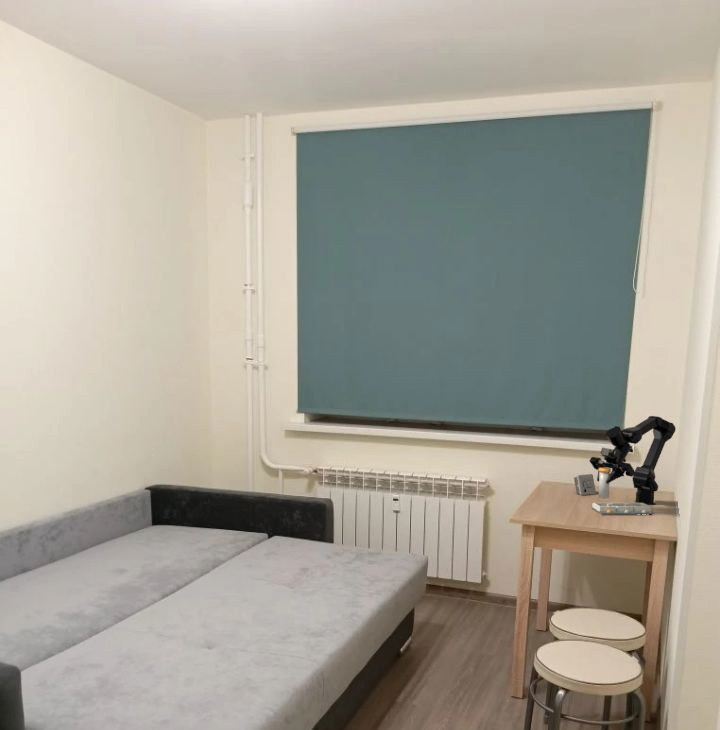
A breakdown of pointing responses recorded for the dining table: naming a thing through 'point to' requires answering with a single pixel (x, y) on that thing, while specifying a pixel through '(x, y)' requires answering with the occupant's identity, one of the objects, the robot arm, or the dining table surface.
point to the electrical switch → (585, 484)
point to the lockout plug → (604, 482)
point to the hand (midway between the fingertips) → (602, 481)
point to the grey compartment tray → (622, 508)
